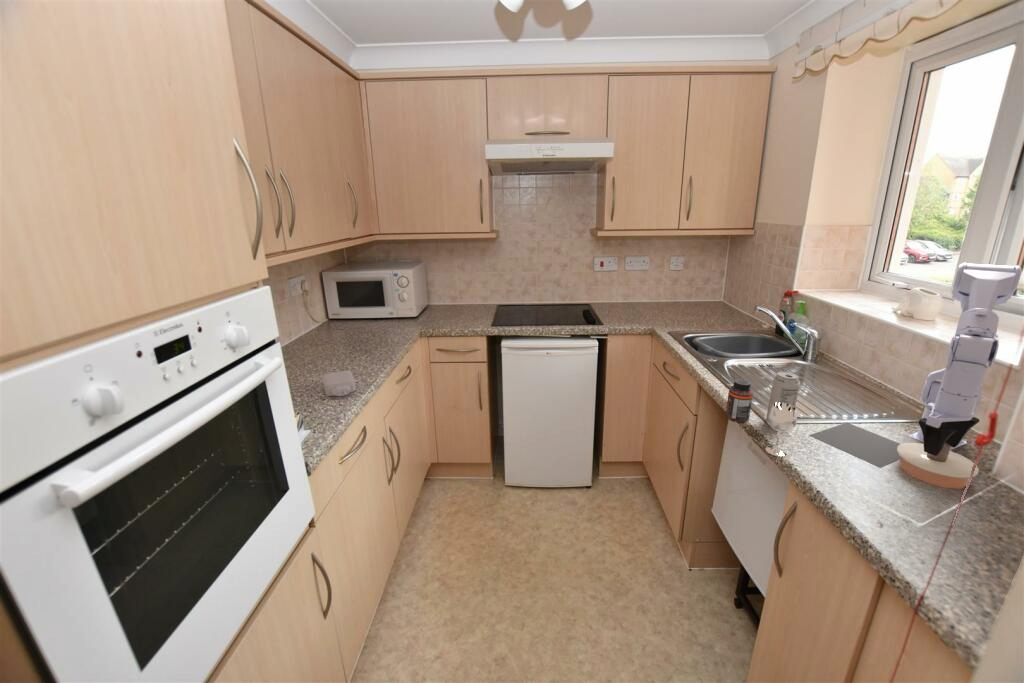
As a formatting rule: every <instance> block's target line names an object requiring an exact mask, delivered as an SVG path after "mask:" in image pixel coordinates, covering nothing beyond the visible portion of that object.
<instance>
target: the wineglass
mask: <svg viewBox="0 0 1024 683" xmlns="http://www.w3.org/2000/svg"><path fill="white" fill-rule="evenodd" d="M797 413H798V412H797V408H796V407H794V406H792V405H790V404H787V403H781V402H777V403H774V404H773V405H772V407H771V409H770V412H769V415H768V423H769V425H770V426H769V425H768V426H769V427H770V428H771V429H773V430H774V431H776V442H775V445H774V446H765V452H767V453H768V454H770V455H772V456H775V457H785V456H787V453H785V452H783V450H782V449H781V448H779V442H780V439H781V437H782V433H788V432H789V433H790V432H791V431H793V430H794V429H795V427H796V425H797V420H798V419H797V415H798V414H797Z"/></svg>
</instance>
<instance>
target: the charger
mask: <svg viewBox="0 0 1024 683" xmlns="http://www.w3.org/2000/svg"><path fill="white" fill-rule="evenodd" d="M322 383H323V387H324V392H325V396H327V397H333V396H337V397H343V396H346V395H349V394H350V393H354V392H355V391H357V387H356V380H355V378H354V374H353V373H352V371H351V370H342V371H336V372H335V371H334V372H330V373H325V374H323V375H322Z"/></svg>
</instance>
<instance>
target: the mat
mask: <svg viewBox="0 0 1024 683" xmlns="http://www.w3.org/2000/svg"><path fill="white" fill-rule="evenodd" d="M808 435H809V436H810V437H812V438H813V439H816V440H819V441H821V442H823V443H825V444H827V445H829V446H832V447H834V448H836V449H838V450H840V451H843V452H845V453H846V454H849V455H852V456H854V457H855V458H857V459H860V460H862V461H865V462H867V463H868V464H871V465H874V466H876V467H877V468H880V469H881V468H883V467H886V466H888V465H890V464H893V463H895V462H897V461H900V456H899V455H898V453H897V447H898V446H899V445H900V444H901V443H900V442H897V441H894V440H892V439H889V438H887V437H885V436H882V435H880V434H878V433H874V432H872V431H870V430H866V429H864V428H862V427H859V426H857V425H854V424H853V423H850V422H844V423H841V424H838V425H836V426H832V427H829V428H826V429H824V430H820V431H817V432H815V433H811V434H808Z"/></svg>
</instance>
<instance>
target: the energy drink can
mask: <svg viewBox="0 0 1024 683" xmlns="http://www.w3.org/2000/svg"><path fill="white" fill-rule="evenodd" d="M799 378H800V377H799V375H798V374H796V373H793V372H789V371H779V372H776V375H775V376H774V377H773V379H772V385H771V390H770V395H769V401H768V406H767V412H766V417H765V422H766V424H767V425H768V426H769V427H770V425H769V423H768V415H769V412H770V409H771V407H772V405H773V404H774V403H777V402H781V403H787V404H790V405H792V406H794V407H795V408H796V406H797V402H798V397H799V391H800V388H801V381H800V379H799Z"/></svg>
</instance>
